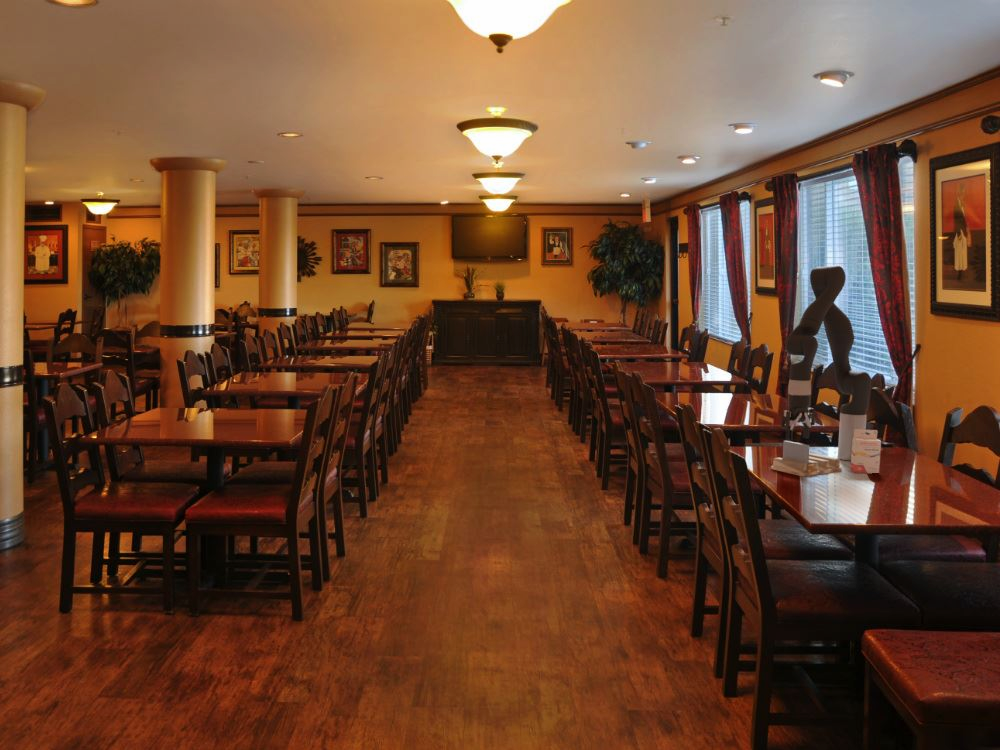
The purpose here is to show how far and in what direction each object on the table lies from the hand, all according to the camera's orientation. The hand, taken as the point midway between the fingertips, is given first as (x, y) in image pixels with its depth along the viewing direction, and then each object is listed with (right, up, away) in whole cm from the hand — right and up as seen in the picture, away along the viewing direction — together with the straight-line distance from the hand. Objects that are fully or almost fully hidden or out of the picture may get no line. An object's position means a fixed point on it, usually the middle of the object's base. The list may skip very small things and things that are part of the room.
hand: (797, 439), depth 320 cm
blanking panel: (0, -10, +1) cm, 10 cm away
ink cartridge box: (+24, -12, +3) cm, 27 cm away
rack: (+4, -11, +4) cm, 13 cm away
